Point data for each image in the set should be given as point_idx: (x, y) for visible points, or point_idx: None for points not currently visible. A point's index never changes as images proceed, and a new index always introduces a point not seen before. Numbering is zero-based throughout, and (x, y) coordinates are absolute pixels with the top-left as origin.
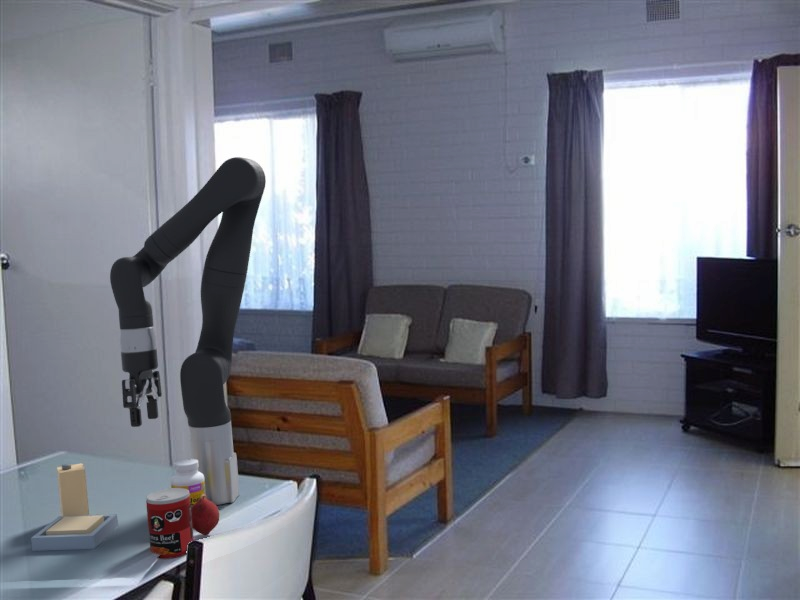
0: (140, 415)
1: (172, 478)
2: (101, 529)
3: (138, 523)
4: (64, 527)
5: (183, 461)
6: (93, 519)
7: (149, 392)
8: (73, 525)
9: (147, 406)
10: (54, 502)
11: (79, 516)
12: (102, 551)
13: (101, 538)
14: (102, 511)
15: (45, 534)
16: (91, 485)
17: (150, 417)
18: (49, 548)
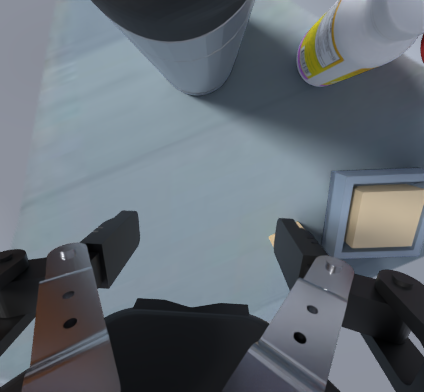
0: (299, 236)
1: (401, 52)
2: (410, 173)
3: (302, 154)
4: (404, 227)
5: (414, 3)
6: (379, 200)
7: (144, 304)
8: (398, 218)
9: (117, 272)
10: (197, 303)
11: (356, 227)
12: (411, 160)
13: (401, 170)
14: (240, 229)
15: (389, 248)
16: (125, 289)
17: (138, 235)
18: None
